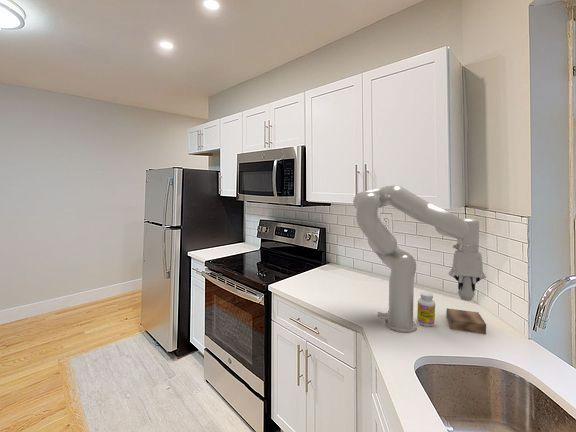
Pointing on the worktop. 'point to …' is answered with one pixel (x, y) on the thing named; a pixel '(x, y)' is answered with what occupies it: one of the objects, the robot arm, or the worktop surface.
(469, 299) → the salt shaker
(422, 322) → the supplement bottle
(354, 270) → the worktop surface
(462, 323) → the walnut riser block
